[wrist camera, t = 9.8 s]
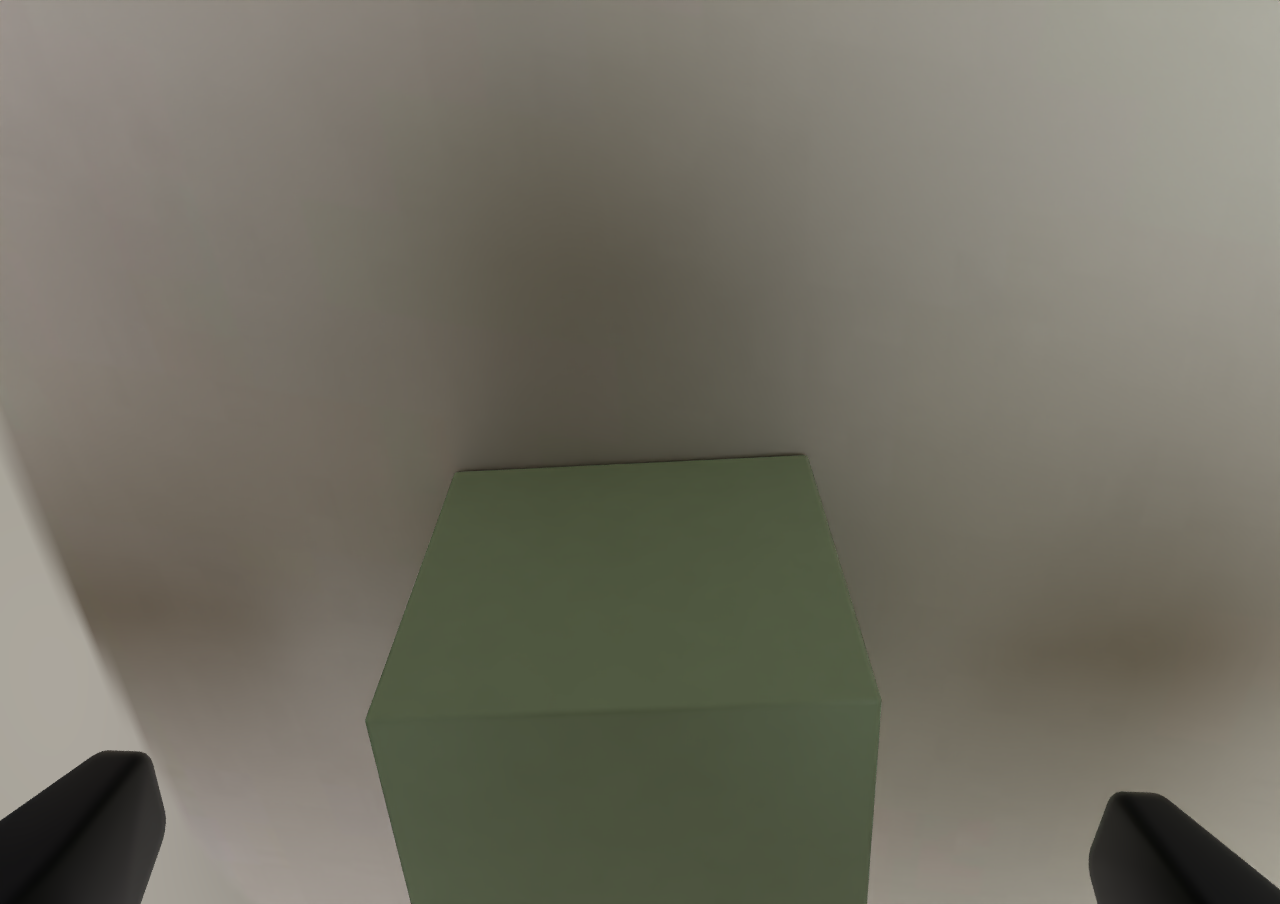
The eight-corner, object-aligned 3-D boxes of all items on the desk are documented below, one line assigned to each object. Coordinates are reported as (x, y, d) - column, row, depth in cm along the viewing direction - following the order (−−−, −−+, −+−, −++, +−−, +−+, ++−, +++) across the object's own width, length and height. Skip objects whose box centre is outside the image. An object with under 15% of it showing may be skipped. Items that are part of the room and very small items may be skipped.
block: (498, 734, 13) (441, 1035, 9) (452, 469, 11) (361, 721, 8) (801, 723, 13) (859, 1022, 9) (807, 453, 11) (883, 699, 7)
